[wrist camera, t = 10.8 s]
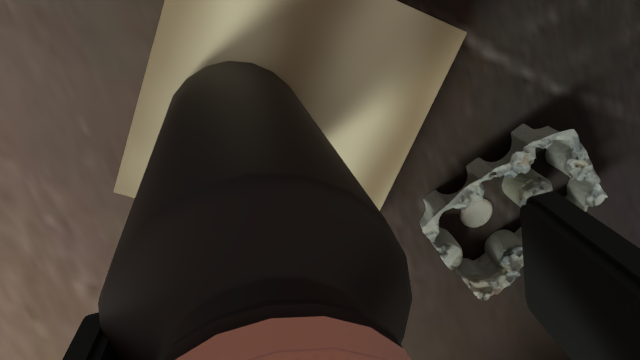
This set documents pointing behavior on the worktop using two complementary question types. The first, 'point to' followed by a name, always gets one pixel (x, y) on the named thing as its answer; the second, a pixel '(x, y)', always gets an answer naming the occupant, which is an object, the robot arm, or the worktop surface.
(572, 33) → the worktop surface
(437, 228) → the egg carton
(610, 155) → the worktop surface
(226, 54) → the maple base
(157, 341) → the vinegar
